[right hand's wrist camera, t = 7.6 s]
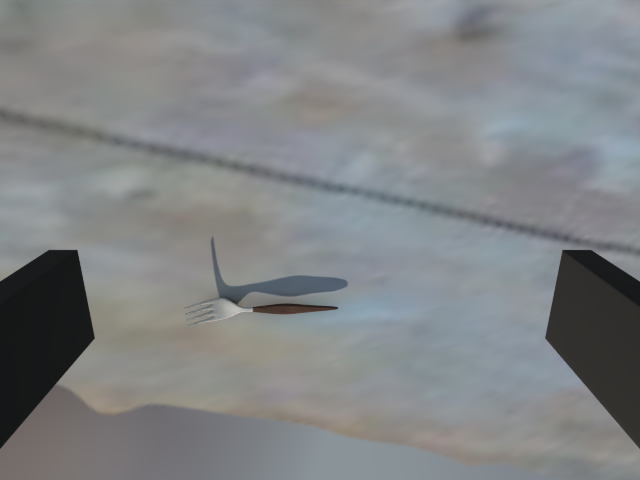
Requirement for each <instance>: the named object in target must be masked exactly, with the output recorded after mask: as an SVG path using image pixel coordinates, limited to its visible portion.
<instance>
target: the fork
mask: <svg viewBox="0 0 640 480" xmlns="http://www.w3.org/2000/svg"><path fill="white" fill-rule="evenodd" d="M204 304H211V305H210V306H208V307H205V308H201V309H198V310H195V311H192V312H189V313H187V314H191V313H195V312H200V311H204V310H212V311H211V312H208V313H205V314H202V315H199V316H196V317H193V318H190V319H187V320H186V321H188V320H192V319H196V318H200V317H204V316H209V315H212V317H211V318H208V319H205V320H202V321H199V322H196V323H193V324H190V325H188V326H187V327H189V326H192V325H196V324H200V323H204V322H209V321H214V320H221V319H225V318H228V317H231V316H233V315H235V314H237V313H240V312H260V313H270V314H296V313H305V312H315V311H326V310H335V309H338V307H332V306H315V305H301V304H275V305H266V306H258V307H249V308H244V307H240V306H238V305H237V304H235V303H233V302H232V301H230V300H228V299H225V298H215V299H211V300H208V301H204V302H201V303H198V304H195V305H192V306H189V307H185V308H184V309H187V308H190V307H195V306H199V305H204ZM187 314H185V315H187Z"/></svg>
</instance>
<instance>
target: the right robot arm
mask: <svg viewBox="0 0 640 480" xmlns="http://www.w3.org/2000/svg"><path fill="white" fill-rule="evenodd" d="M94 338H95V337H94V332H93V327H92V322H91V317H90V312H89V307H88V302H87V297H86V291H85V286H84V281H83V276H82V271H81V266H80V261H79V256H78V251H77V250H48V251H47V252H45V253H44V254H42V255H41V256H39V257H37V258H36V259H34V260H33V261H31V262H30V263H28V264H27V265H25V266H24V267H22V268H20V269H19V270H17V271H16V272H14V273H13V274H11V275H10V276H8V277H7V278H5V279H3V280H2V281H0V448H1V447H2V446H3V445H4V444H5V443H6V441H7V440H8V439H9V438H10V437H11V435H12V434H13V433H14V432H15V431H16V430H17V428H18V427H19V426H20V425H21V424H22V423H23V422H24V420H25V419H26V418H27V417H28V416H29V415H30V413H31V412H32V411H33V410H34V409H35V407H36V406H37V405H38V404H39V403H40V402H41V400H42V399H43V398H44V397H45V396H46V395H47V393H48V392H49V391H50V390H51V389H52V388H53V386H54V385H55V384H56V383H57V382H58V381H59V379H60V378H61V377H62V376H63V375H64V374H65V372H66V371H67V370H68V369H69V368H70V367H71V365H72V364H73V363H74V362H75V361H76V360H77V358H78V357H79V356H80V355H81V354H82V353H83V351H84V350H85V349H86V348H87V347H88V346H89V344H90V343H91V342H92V341H93V340H94ZM545 338H546V340H547V341H548V342H549V343H550V344H551V346H552V347H553V348H554V349H555V350H556V351H557V353H558V354H559V355H560V356H561V357H562V358H563V360H564V361H565V362H566V363H567V364H568V365H569V367H570V368H571V369H572V370H573V371H574V372H575V374H576V375H577V376H578V377H579V378H580V379H581V381H582V382H583V383H584V384H585V385H586V386H587V388H588V389H589V390H590V391H591V392H592V393H593V395H594V396H595V397H596V398H597V399H598V400H599V402H600V403H601V404H602V405H603V406H604V407H605V409H606V410H607V411H608V412H609V413H610V415H611V416H612V417H613V418H614V419H615V420H616V422H617V423H618V424H619V425H620V426H621V427H622V429H623V430H624V431H625V432H626V433H627V434H628V436H629V437H630V438H631V439H632V440H633V441H634V443H635V444H636V445H637V446H638V447H639V448H640V281H638V280H637V279H635V278H633V277H632V276H630V275H629V274H627V273H626V272H624V271H623V270H621V269H620V268H618V267H616V266H615V265H613V264H612V263H610V262H609V261H607V260H606V259H604V258H603V257H601V256H599V255H598V254H596V253H595V252H593V251H592V250H563V251H562V256H561V261H560V266H559V271H558V276H557V281H556V286H555V291H554V297H553V302H552V307H551V312H550V317H549V322H548V327H547V332H546V337H545Z"/></svg>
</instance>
